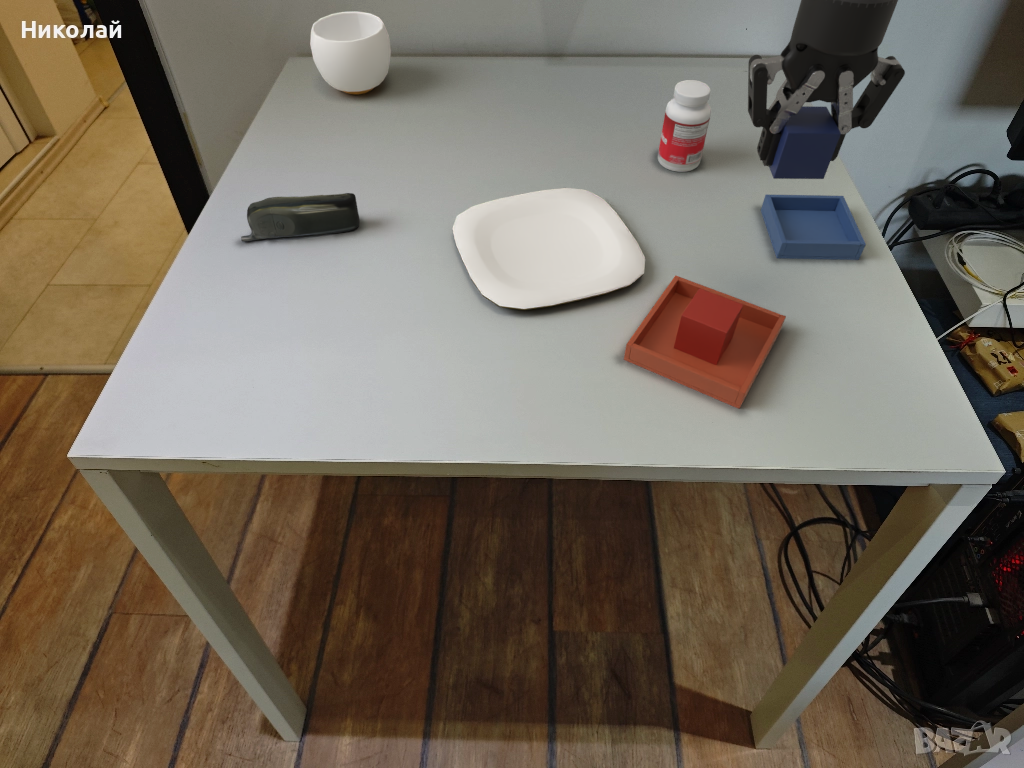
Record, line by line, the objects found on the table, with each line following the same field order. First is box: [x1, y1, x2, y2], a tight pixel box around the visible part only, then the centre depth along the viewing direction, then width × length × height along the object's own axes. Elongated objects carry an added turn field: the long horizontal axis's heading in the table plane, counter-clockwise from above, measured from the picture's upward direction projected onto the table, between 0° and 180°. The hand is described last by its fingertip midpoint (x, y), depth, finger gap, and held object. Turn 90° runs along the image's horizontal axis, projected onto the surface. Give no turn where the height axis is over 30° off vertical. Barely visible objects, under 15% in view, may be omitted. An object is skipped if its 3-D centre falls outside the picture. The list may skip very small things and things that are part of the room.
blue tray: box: [760, 193, 867, 261], centre depth 92 cm, size 10×10×2 cm
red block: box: [674, 288, 743, 365], centre depth 78 cm, size 5×5×5 cm
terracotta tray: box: [623, 274, 787, 409], centre depth 79 cm, size 13×13×2 cm
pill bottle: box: [657, 79, 712, 173], centre depth 100 cm, size 6×6×11 cm
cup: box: [309, 10, 392, 95], centre depth 115 cm, size 12×12×10 cm
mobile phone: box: [240, 192, 360, 242], centre depth 92 cm, size 5×3×15 cm
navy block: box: [768, 105, 841, 180], centre depth 71 cm, size 5×5×5 cm
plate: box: [452, 187, 646, 311], centre depth 90 cm, size 22×22×2 cm
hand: (794, 161), depth 73 cm, fingers closed on navy block, 5 cm apart
